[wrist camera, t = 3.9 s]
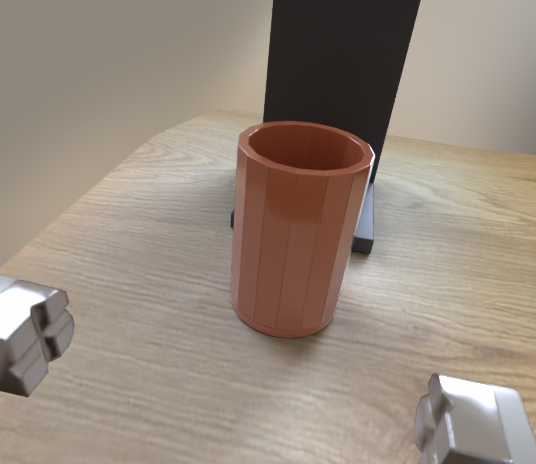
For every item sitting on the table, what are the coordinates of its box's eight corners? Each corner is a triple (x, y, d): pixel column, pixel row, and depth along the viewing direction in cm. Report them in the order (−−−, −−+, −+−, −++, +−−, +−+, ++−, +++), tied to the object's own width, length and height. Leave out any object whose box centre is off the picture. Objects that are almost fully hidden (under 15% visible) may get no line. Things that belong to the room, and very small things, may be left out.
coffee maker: (370, 254, 29) (517, -266, 15) (230, 227, 30) (252, -275, 17) (370, 180, 38) (460, -176, 25) (265, 161, 40) (297, -187, 26)
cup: (211, 314, 23) (213, 152, 17) (255, 253, 28) (268, 112, 22) (319, 354, 21) (359, 189, 16) (347, 282, 26) (384, 137, 21)
